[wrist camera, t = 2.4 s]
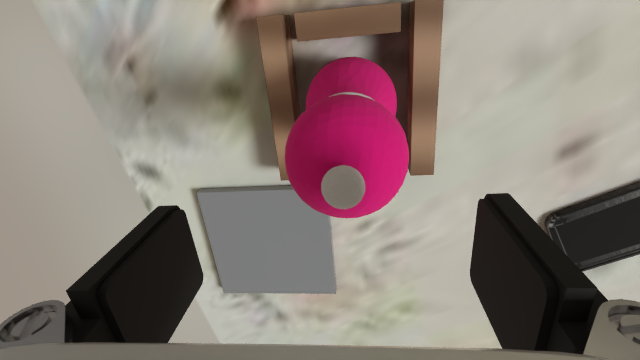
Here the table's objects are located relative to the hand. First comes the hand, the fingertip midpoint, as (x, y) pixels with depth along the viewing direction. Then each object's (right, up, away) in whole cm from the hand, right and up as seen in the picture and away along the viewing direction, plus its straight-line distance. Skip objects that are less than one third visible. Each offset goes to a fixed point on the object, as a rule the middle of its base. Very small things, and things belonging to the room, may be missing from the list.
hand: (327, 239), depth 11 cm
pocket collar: (+3, +10, +20) cm, 22 cm away
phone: (+31, -2, +23) cm, 38 cm away
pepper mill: (+3, +10, +20) cm, 23 cm away
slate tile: (-6, -5, +28) cm, 29 cm away
